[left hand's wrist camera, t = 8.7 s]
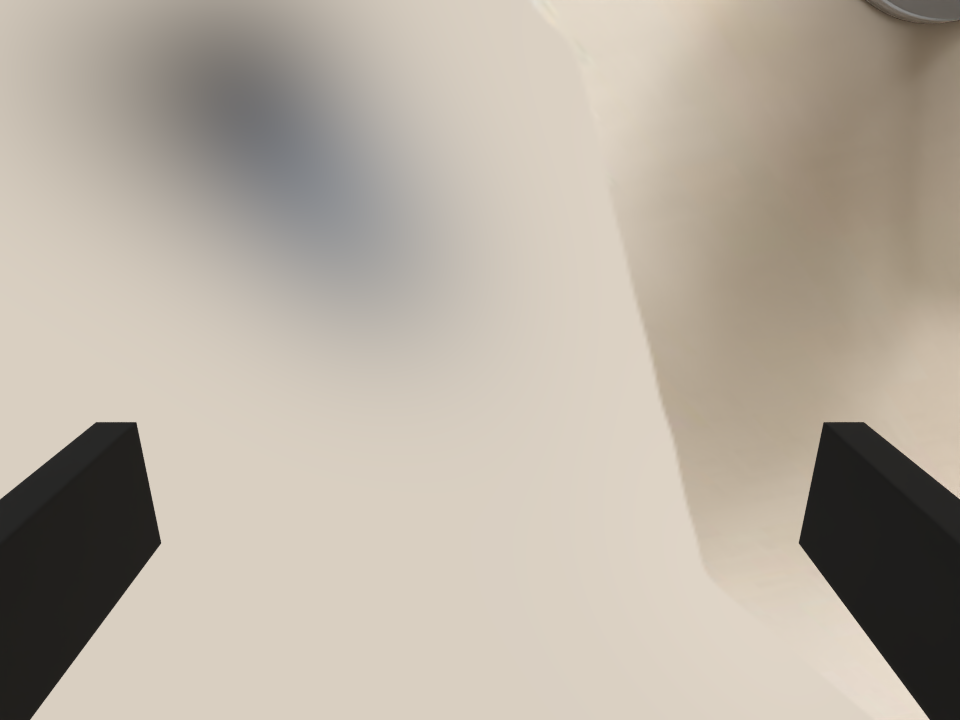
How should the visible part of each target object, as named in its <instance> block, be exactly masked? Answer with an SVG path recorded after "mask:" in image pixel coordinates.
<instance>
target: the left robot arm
mask: <svg viewBox="0 0 960 720" xmlns="http://www.w3.org/2000/svg"><path fill="white" fill-rule="evenodd" d="M866 1H867V2H868V3H870V4H871V5H873V6H874V7H875V8H877V9H879V10H880V11H882V12H884V13H886V14H888V15H890V16H893V17H895V18H898V19H902V20H905V21H909V22H916V23H931V24H935V23H947V22H952V21H957V20H960V0H866ZM160 544H161V540H160V535H159V530H158V526H157V521H156V516H155V511H154V506H153V501H152V496H151V491H150V487H149V482H148V477H147V472H146V467H145V462H144V457H143V453H142V448H141V443H140V438H139V433H138V428H137V423H136V422H96V423H95V424H93V425H92V426H91V427H90V428H89V429H87V430H86V431H85V432H84V433H82V434H81V435H80V436H79V437H77V438H76V439H75V440H74V441H72V442H71V443H70V444H69V445H67V446H66V447H65V448H64V449H62V450H61V451H60V452H59V453H57V454H56V455H55V456H54V457H52V458H51V459H50V460H49V461H48V462H46V463H45V464H44V465H43V466H41V467H40V468H39V469H38V470H36V471H35V472H34V473H33V474H31V475H30V476H29V477H28V478H26V479H25V480H24V481H23V482H21V483H20V484H19V485H18V486H16V487H15V488H14V489H13V490H11V491H10V492H9V493H8V494H6V495H5V496H4V497H3V498H1V499H0V720H30V719H31V718H32V716H33V715H34V714H35V712H36V711H37V710H38V708H39V707H40V706H41V704H42V703H43V702H44V700H45V699H46V698H47V696H48V695H49V694H50V692H51V691H52V689H53V688H54V687H55V685H56V684H57V683H58V681H59V680H60V679H61V677H62V676H63V675H64V673H65V672H66V671H67V669H68V668H69V667H70V665H71V664H72V663H73V661H74V660H75V659H76V657H77V656H78V654H79V653H80V652H81V650H82V649H83V648H84V646H85V645H86V644H87V642H88V641H89V640H90V638H91V637H92V636H93V634H94V633H95V632H96V630H97V629H98V628H99V626H100V625H101V623H102V622H103V621H104V619H105V618H106V617H107V615H108V614H109V613H110V611H111V610H112V609H113V607H114V606H115V605H116V603H117V602H118V601H119V599H120V598H121V597H122V595H123V594H124V593H125V591H126V590H127V588H128V587H129V586H130V584H131V583H132V582H133V580H134V579H135V578H136V576H137V575H138V574H139V572H140V571H141V570H142V568H143V567H144V566H145V564H146V563H147V562H148V560H149V559H150V557H151V556H152V555H153V553H154V552H155V551H156V549H157V548H158V547H159V545H160ZM799 544H800V545H801V547H802V548H803V549H804V551H805V552H806V553H807V555H808V556H809V558H810V559H811V560H812V562H813V563H814V564H815V566H816V567H817V568H818V570H819V571H820V572H821V574H822V575H823V576H824V578H825V579H826V580H827V582H828V583H829V584H830V586H831V587H832V588H833V590H834V591H835V593H836V594H837V595H838V597H839V598H840V599H841V601H842V602H843V603H844V605H845V606H846V607H847V609H848V610H849V611H850V613H851V614H852V615H853V617H854V618H855V619H856V621H857V622H858V624H859V625H860V626H861V628H862V629H863V630H864V632H865V633H866V634H867V636H868V637H869V638H870V640H871V641H872V642H873V644H874V645H875V646H876V648H877V649H878V650H879V652H880V653H881V655H882V656H883V657H884V659H885V660H886V661H887V663H888V664H889V665H890V667H891V668H892V669H893V671H894V672H895V673H896V675H897V676H898V677H899V679H900V680H901V681H902V683H903V684H904V685H905V687H906V688H907V690H908V691H909V692H910V694H911V695H912V696H913V698H914V699H915V700H916V702H917V703H918V704H919V706H920V707H921V708H922V710H923V711H924V712H925V714H926V715H927V716H928V718H929V719H930V720H960V499H959V498H957V497H956V496H955V495H954V494H952V493H951V492H950V491H949V490H947V489H946V488H945V487H944V486H942V485H941V484H940V483H939V482H937V481H936V480H935V479H934V478H932V477H931V476H930V475H929V474H927V473H926V472H925V471H924V470H922V469H921V468H920V467H919V466H918V465H916V464H915V463H914V462H913V461H911V460H910V459H909V458H908V457H906V456H905V455H904V454H903V453H901V452H900V451H899V450H898V449H896V448H895V447H894V446H893V445H891V444H890V443H889V442H888V441H886V440H885V439H884V438H883V437H881V436H880V435H879V434H878V433H876V432H875V431H874V430H873V429H871V428H870V427H869V426H868V425H867V424H865V423H864V422H824V423H823V428H822V433H821V438H820V443H819V448H818V453H817V457H816V462H815V467H814V472H813V477H812V482H811V487H810V491H809V496H808V501H807V506H806V511H805V516H804V521H803V525H802V530H801V535H800V540H799Z"/></svg>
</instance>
